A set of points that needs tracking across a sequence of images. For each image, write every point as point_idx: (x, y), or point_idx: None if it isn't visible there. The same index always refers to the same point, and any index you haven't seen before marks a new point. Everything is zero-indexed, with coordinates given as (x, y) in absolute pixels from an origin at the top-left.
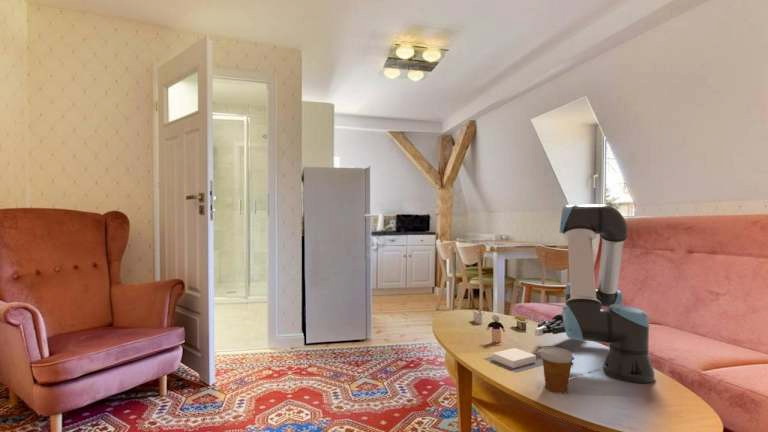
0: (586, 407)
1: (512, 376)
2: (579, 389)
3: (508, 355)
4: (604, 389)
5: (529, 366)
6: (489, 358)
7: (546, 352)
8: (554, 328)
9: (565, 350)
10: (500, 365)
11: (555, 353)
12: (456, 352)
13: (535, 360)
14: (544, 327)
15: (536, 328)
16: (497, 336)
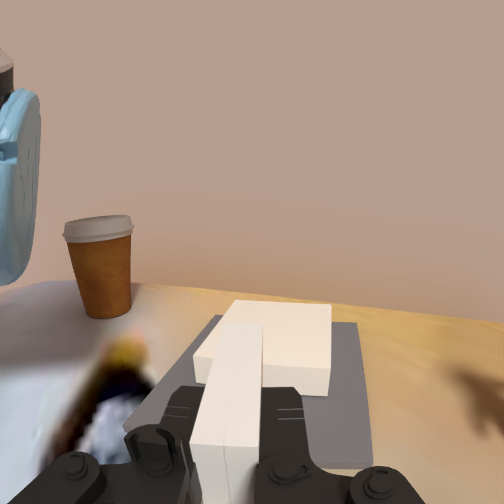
0: (63, 292)
1: (218, 310)
2: (59, 323)
3: (278, 314)
4: (4, 338)
5: None
6: (347, 330)
7: (119, 218)
8: (69, 457)
9: (74, 226)
10: None
11: (100, 220)
12: (446, 317)
13: (196, 373)
14: (203, 397)
15: (256, 330)
16: None
